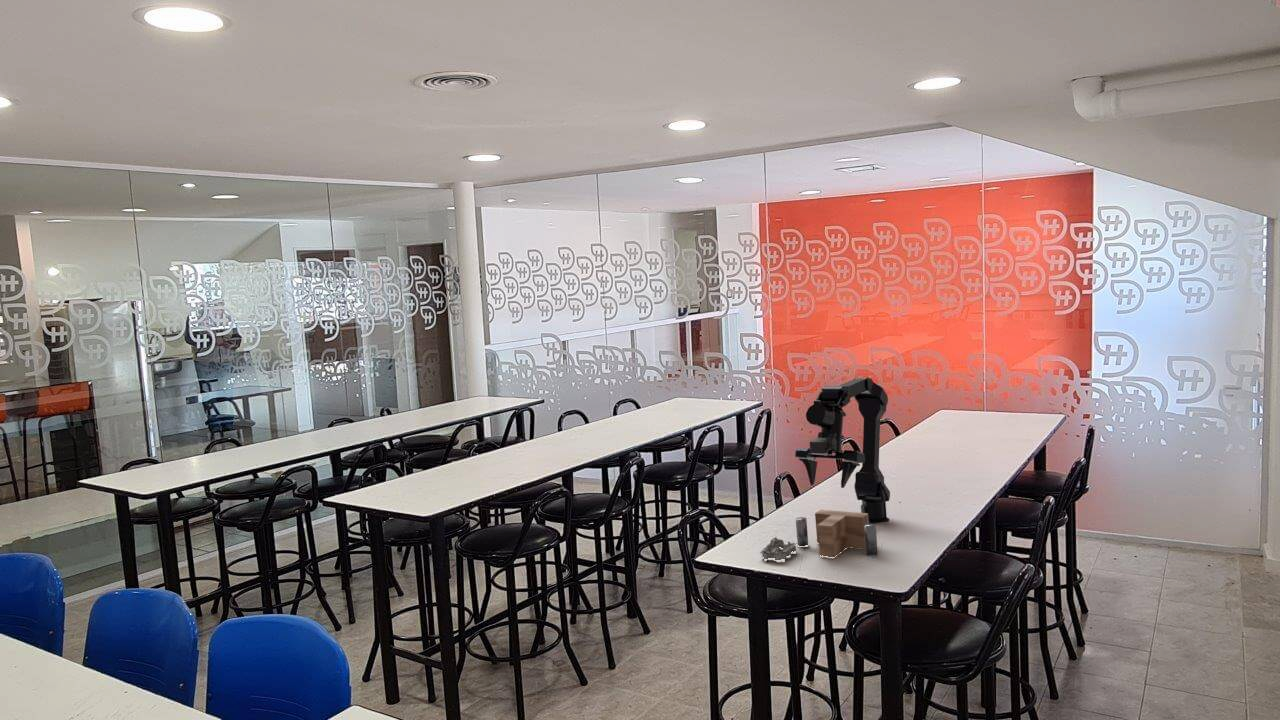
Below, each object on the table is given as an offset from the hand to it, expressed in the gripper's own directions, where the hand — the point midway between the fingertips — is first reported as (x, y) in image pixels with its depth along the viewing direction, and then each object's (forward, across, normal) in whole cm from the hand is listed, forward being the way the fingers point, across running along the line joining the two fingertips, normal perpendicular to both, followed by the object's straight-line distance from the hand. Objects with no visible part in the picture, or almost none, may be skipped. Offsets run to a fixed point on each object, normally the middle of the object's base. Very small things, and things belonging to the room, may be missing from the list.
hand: (827, 486), depth 235 cm
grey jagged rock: (+21, -10, -5) cm, 24 cm away
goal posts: (+17, +2, +5) cm, 18 cm away
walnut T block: (+17, +2, +5) cm, 18 cm away
